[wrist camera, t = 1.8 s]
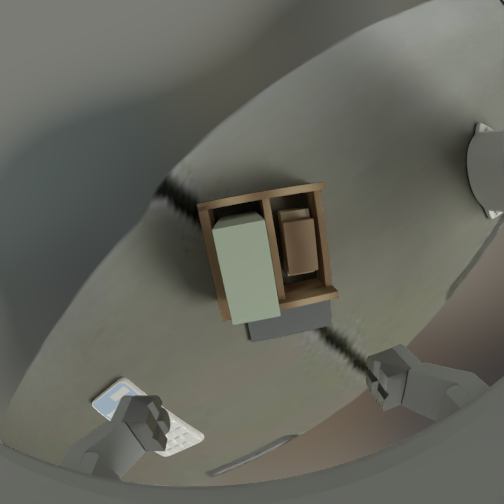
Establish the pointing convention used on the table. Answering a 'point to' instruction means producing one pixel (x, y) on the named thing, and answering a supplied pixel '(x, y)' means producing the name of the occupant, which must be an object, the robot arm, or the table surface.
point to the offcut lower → (286, 216)
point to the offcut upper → (299, 245)
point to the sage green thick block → (246, 267)
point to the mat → (292, 321)
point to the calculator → (179, 430)
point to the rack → (275, 247)
